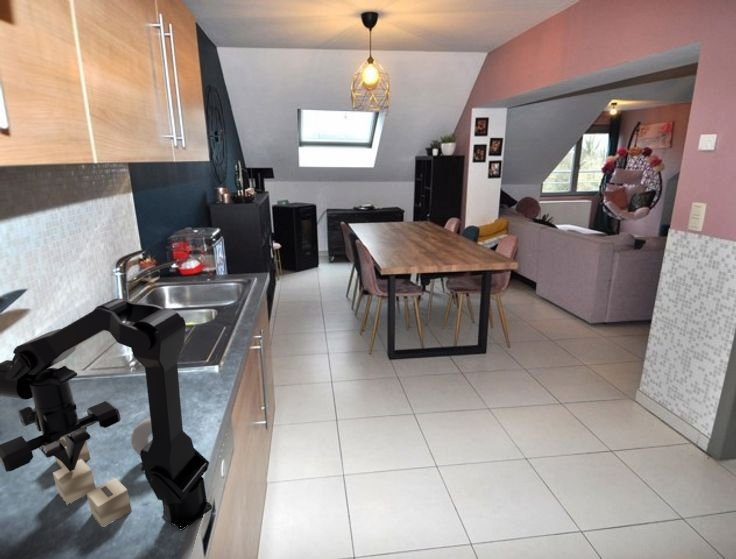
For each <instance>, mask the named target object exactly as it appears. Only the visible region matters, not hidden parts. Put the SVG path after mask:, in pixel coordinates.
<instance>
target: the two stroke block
mask: <svg viewBox="0 0 736 559" xmlns="http://www.w3.org/2000/svg"><path fill="white" fill-rule="evenodd" d="M87 441H88V440H86V442H85V444H84V446H83V448H82V450H81V452H80V455H79V458H78V460H80V459H82V460H83V461H84V462H86V461H88V460H90V459H91V455H90V451H89V447H88V442H87ZM60 443H61V444H62V445H63V446H64V447H65V449H66V452H67V446H66V440H65V437H63V438H61V439H60ZM54 459H55V462H56V463H57V465H59V466H60V469H62V468H64V467H66V466H65V465H64V464H63V463H62V462H61V461H60V460H59V459H57V458H56V457H55V456H54Z"/></svg>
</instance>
